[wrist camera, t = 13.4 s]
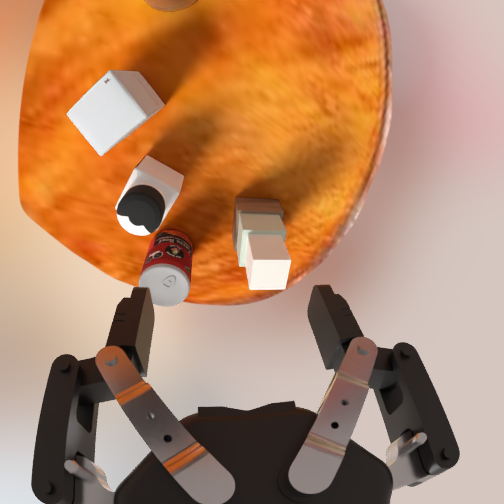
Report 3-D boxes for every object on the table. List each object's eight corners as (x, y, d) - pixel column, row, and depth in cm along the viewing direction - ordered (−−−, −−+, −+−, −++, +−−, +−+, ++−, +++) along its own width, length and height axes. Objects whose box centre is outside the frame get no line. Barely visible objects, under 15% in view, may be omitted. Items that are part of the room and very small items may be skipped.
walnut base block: (235, 197, 46) (237, 210, 42) (277, 199, 48) (284, 212, 43) (232, 234, 50) (234, 250, 46) (271, 235, 51) (277, 251, 47)
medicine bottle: (146, 153, 40) (124, 179, 30) (185, 175, 43) (176, 207, 33) (126, 190, 43) (103, 226, 33) (163, 210, 46) (150, 250, 36)
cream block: (247, 233, 39) (253, 259, 34) (281, 234, 40) (291, 259, 35) (244, 262, 41) (249, 289, 36) (276, 262, 42) (285, 289, 37)
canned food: (200, 237, 50) (197, 276, 40) (183, 271, 53) (179, 313, 44) (158, 221, 47) (146, 258, 38) (145, 257, 50) (133, 297, 41)
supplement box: (101, 101, 34) (63, 112, 24) (139, 70, 33) (110, 67, 22) (128, 136, 38) (99, 158, 28) (167, 106, 37) (148, 116, 26)
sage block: (239, 213, 43) (242, 229, 38) (279, 214, 44) (286, 231, 39) (236, 247, 46) (239, 266, 42) (273, 248, 47) (279, 266, 43)
